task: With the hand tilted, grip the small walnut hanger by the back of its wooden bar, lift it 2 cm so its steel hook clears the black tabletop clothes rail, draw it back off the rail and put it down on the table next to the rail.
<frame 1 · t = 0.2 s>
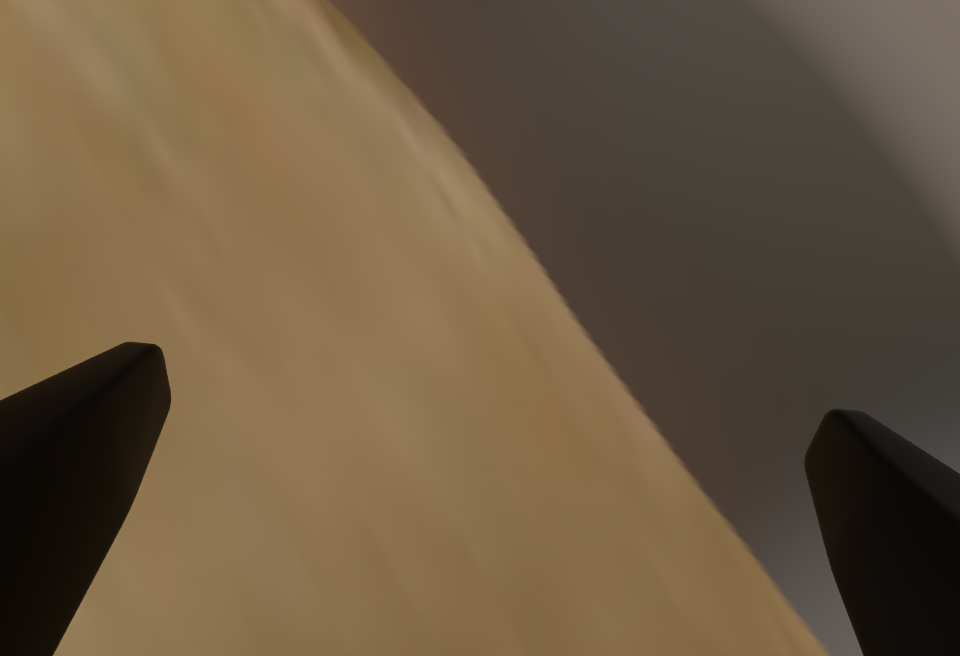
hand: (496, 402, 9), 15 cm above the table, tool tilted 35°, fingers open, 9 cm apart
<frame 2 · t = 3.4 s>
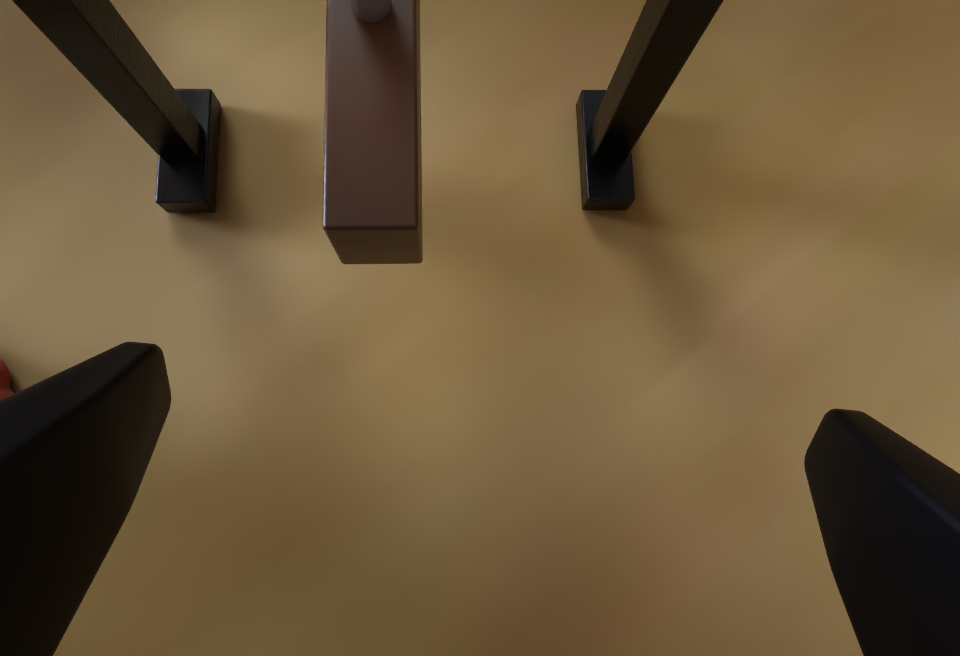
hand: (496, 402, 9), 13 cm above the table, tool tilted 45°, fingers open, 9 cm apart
clothes rail: (401, 157, 23), on the table
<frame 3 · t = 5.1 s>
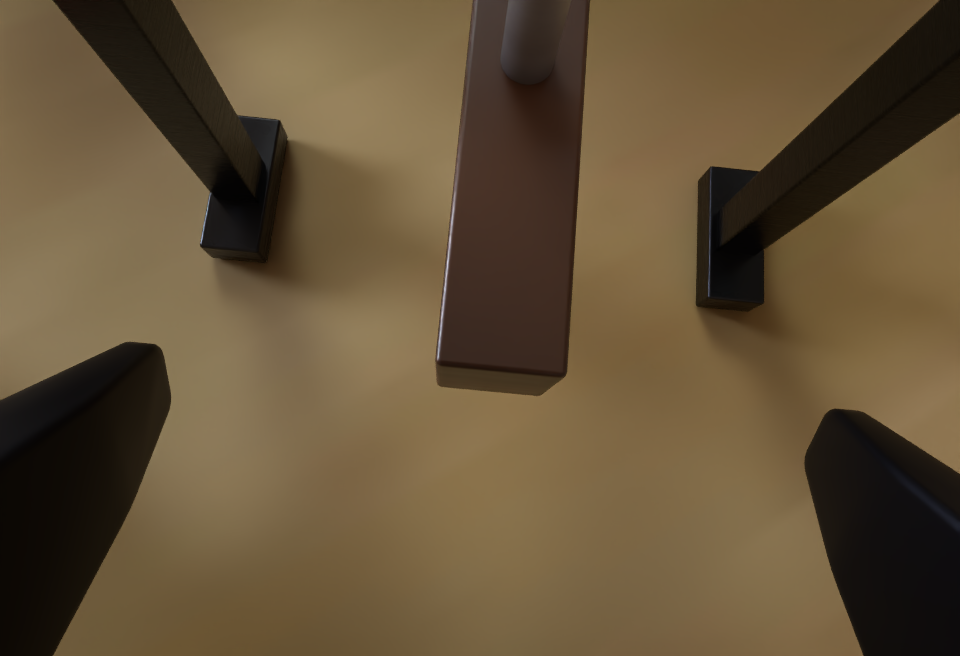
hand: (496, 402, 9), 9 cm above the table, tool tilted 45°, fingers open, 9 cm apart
hanger: (524, 34, 11), point 8 cm above the table, touching clothes rail
clothes rail: (489, 220, 20), on the table
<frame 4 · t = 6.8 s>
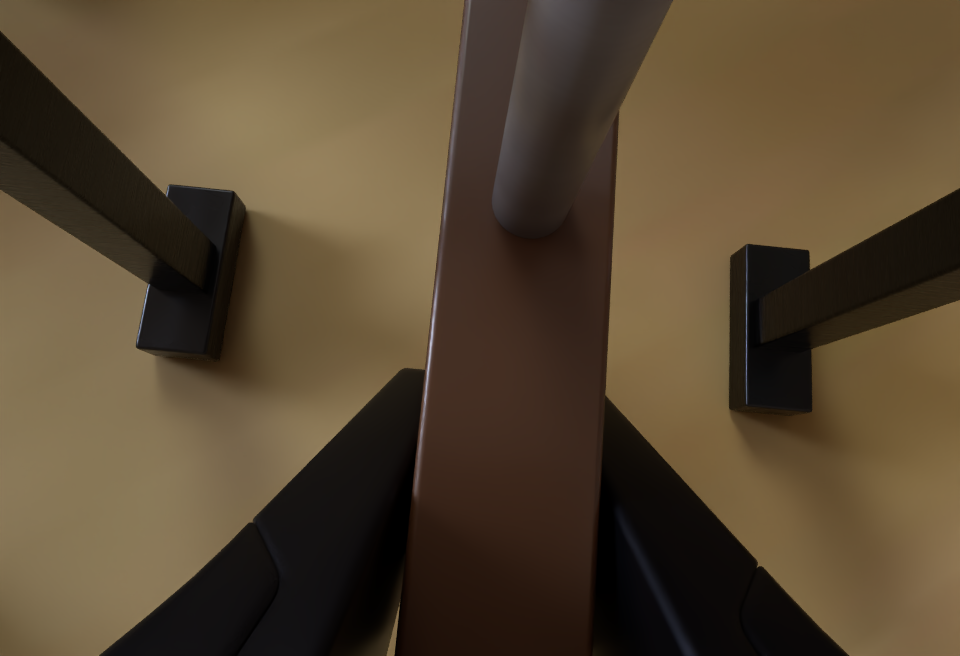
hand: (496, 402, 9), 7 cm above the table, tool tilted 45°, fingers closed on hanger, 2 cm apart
hanger: (525, 142, 8), point 8 cm above the table, touching clothes rail, gripper
clothes rail: (484, 306, 17), on the table
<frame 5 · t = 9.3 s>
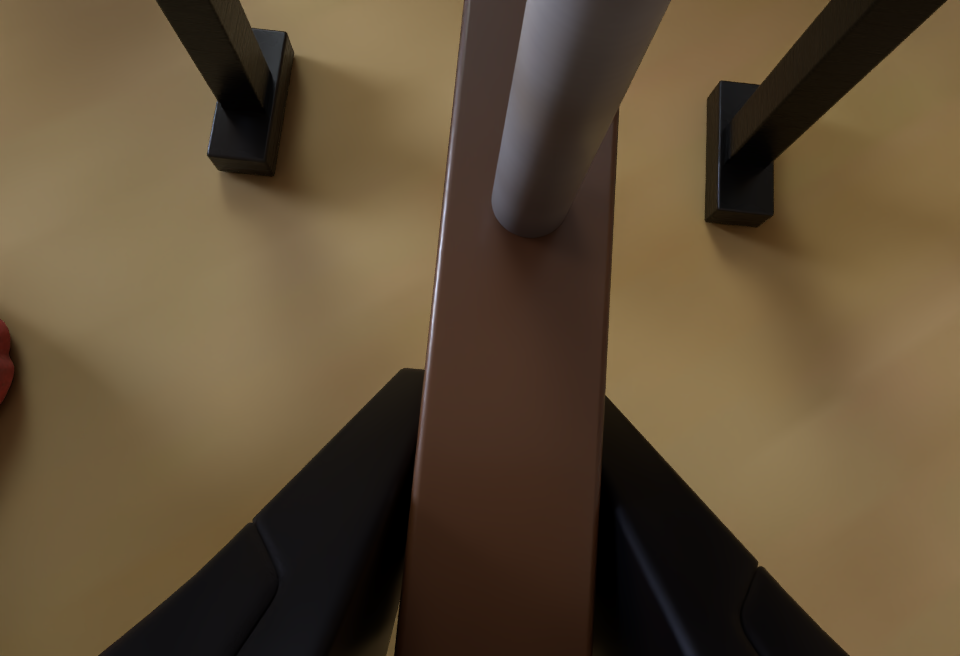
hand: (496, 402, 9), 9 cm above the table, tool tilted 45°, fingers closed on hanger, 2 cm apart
hanger: (525, 141, 8), point 10 cm above the table, touching gripper
clothes rail: (497, 136, 20), on the table
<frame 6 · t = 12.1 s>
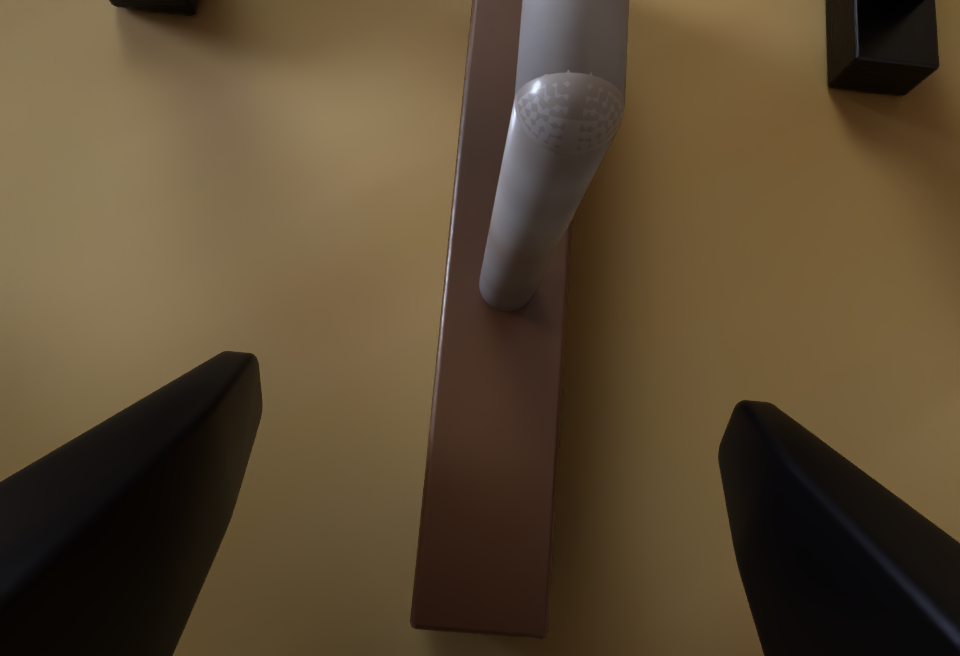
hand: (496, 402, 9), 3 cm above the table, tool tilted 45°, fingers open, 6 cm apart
hanger: (506, 228, 11), point 1 cm above the table
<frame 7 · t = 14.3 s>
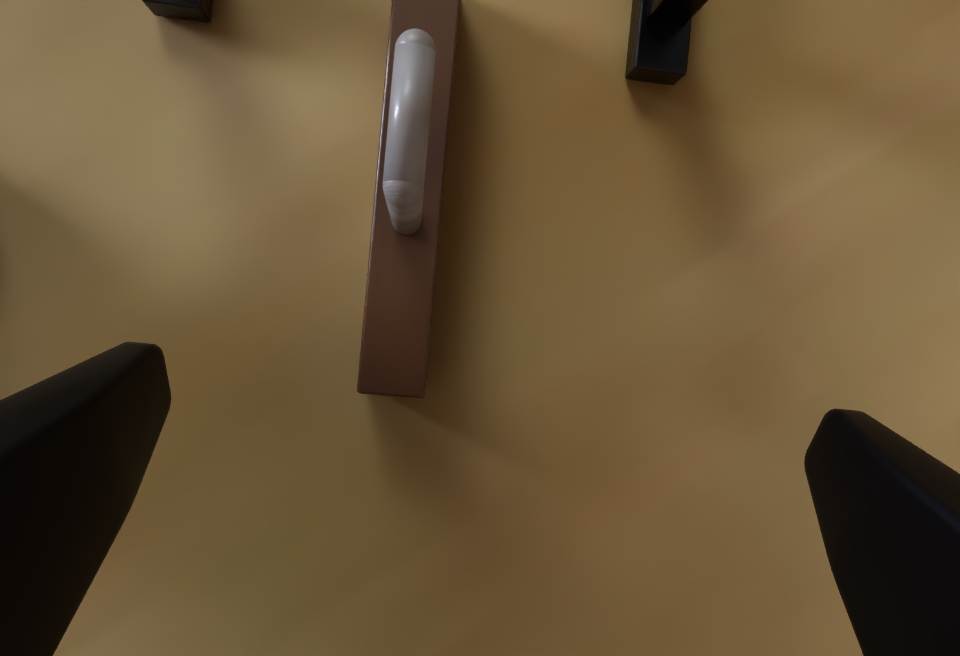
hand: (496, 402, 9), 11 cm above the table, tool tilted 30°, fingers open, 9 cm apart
hanger: (411, 180, 19), point 1 cm above the table
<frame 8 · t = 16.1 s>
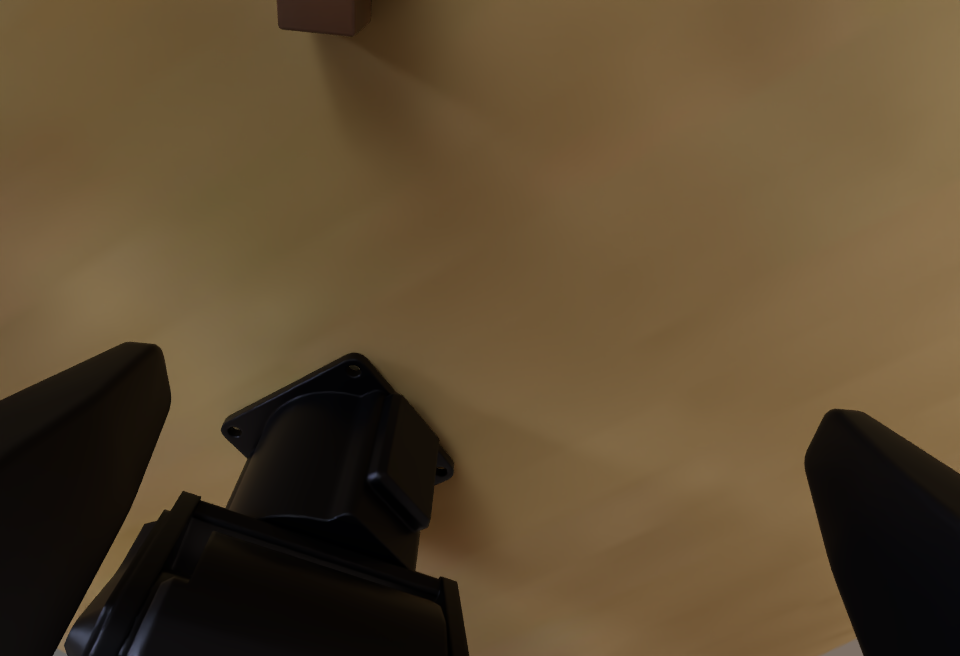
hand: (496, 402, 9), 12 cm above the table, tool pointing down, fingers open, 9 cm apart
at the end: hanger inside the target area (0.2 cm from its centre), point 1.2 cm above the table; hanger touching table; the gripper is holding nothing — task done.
